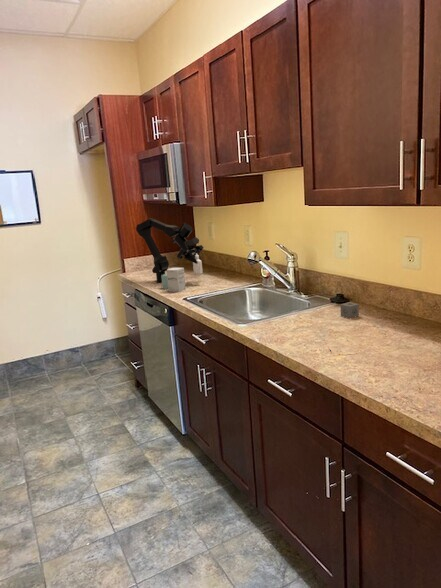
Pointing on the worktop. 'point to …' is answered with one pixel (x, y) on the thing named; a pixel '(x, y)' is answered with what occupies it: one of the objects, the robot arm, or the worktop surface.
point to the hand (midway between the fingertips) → (199, 262)
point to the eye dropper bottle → (197, 265)
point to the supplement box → (176, 279)
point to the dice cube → (349, 309)
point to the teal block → (164, 281)
